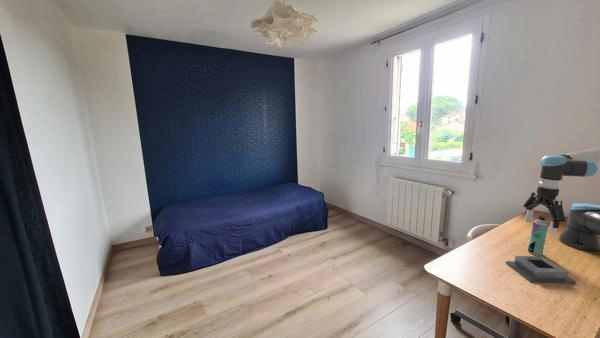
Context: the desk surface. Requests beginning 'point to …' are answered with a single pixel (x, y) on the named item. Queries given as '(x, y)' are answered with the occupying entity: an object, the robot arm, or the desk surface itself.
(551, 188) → the robot arm
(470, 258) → the desk surface
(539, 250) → the spray can
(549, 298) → the desk surface
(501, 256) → the desk surface
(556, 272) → the collar
